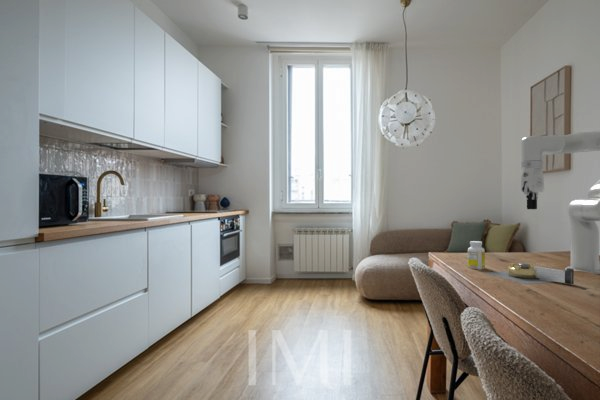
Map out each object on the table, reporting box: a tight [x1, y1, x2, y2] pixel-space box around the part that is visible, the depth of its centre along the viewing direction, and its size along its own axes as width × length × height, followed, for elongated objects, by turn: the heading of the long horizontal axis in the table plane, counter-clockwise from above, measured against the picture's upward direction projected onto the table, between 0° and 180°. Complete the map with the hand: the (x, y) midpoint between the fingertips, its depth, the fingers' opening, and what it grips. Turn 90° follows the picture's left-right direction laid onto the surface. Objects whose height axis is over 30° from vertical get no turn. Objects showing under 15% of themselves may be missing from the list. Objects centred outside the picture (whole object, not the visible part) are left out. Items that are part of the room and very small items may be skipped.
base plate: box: [482, 270, 558, 285], centre depth 135 cm, size 20×20×2 cm
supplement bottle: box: [467, 240, 486, 270], centre depth 152 cm, size 7×7×13 cm
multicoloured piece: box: [507, 262, 575, 285], centre depth 130 cm, size 21×10×5 cm, turn 31°
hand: (531, 209), depth 148 cm, fingers closed
